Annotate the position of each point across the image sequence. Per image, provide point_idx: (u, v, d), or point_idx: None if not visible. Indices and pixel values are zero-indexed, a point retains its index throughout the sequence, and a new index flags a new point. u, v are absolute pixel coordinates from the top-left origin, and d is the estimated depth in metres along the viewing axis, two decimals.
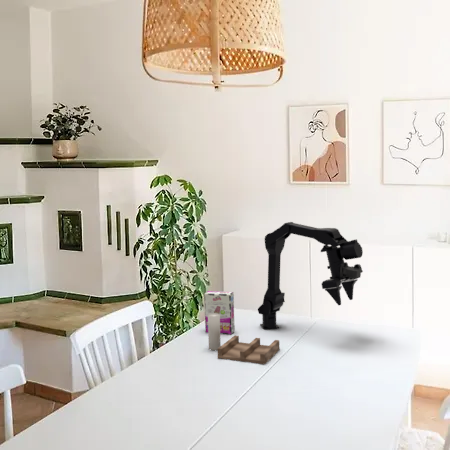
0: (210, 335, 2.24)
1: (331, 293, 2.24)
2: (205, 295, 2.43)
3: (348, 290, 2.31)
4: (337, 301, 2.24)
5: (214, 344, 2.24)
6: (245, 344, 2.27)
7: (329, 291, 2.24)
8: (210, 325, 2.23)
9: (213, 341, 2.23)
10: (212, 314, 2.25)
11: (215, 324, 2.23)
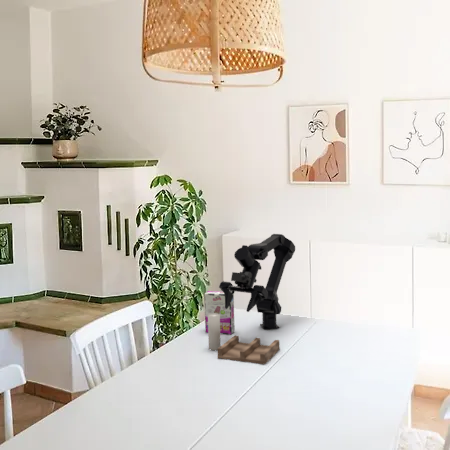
0: (210, 335, 2.24)
1: None
2: (205, 295, 2.43)
3: None
4: None
5: (214, 344, 2.24)
6: (245, 344, 2.27)
7: None
8: (210, 325, 2.23)
9: (213, 341, 2.23)
10: (212, 314, 2.25)
11: (215, 324, 2.23)
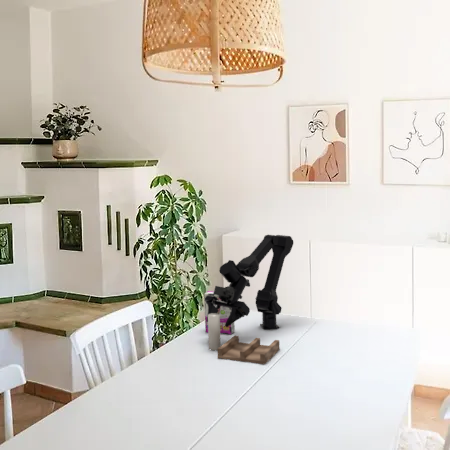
0: (210, 335, 2.24)
1: None
2: (205, 295, 2.43)
3: None
4: None
5: (214, 344, 2.24)
6: (245, 344, 2.27)
7: None
8: (210, 325, 2.23)
9: (213, 341, 2.23)
10: (212, 314, 2.25)
11: (215, 324, 2.23)
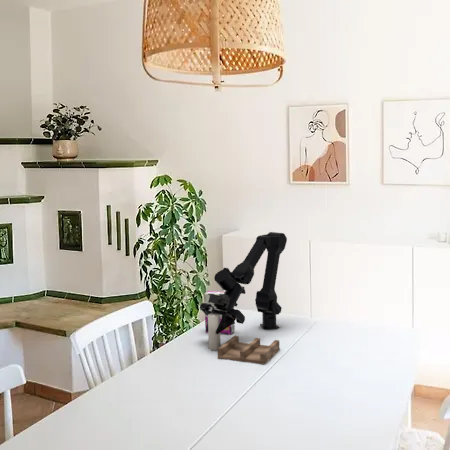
0: (210, 335, 2.24)
1: None
2: (205, 295, 2.43)
3: None
4: None
5: (214, 344, 2.24)
6: (245, 344, 2.27)
7: None
8: (210, 325, 2.23)
9: (213, 341, 2.23)
10: (212, 314, 2.25)
11: (215, 324, 2.23)
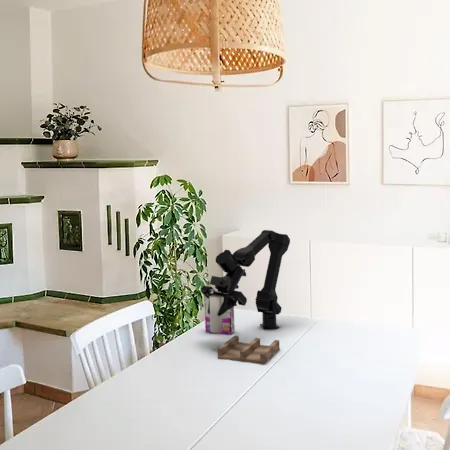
0: (212, 317, 2.22)
1: None
2: None
3: None
4: None
5: (216, 327, 2.22)
6: (245, 344, 2.27)
7: None
8: (212, 307, 2.22)
9: (215, 323, 2.22)
10: (214, 296, 2.23)
11: (217, 306, 2.21)
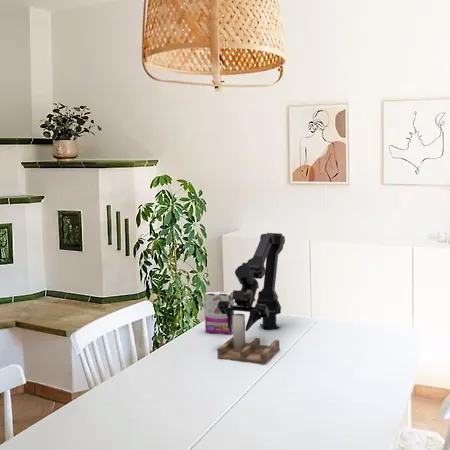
0: (236, 336, 2.18)
1: None
2: (205, 295, 2.43)
3: None
4: None
5: (241, 345, 2.19)
6: (245, 344, 2.27)
7: None
8: (237, 326, 2.18)
9: (240, 342, 2.18)
10: (237, 315, 2.19)
11: (242, 325, 2.18)
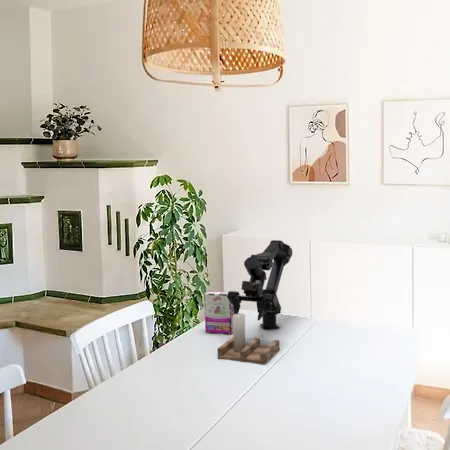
0: (236, 336, 2.18)
1: None
2: (205, 295, 2.43)
3: None
4: None
5: (241, 345, 2.19)
6: (245, 344, 2.27)
7: None
8: (237, 326, 2.18)
9: (240, 342, 2.18)
10: (237, 315, 2.19)
11: (242, 325, 2.18)
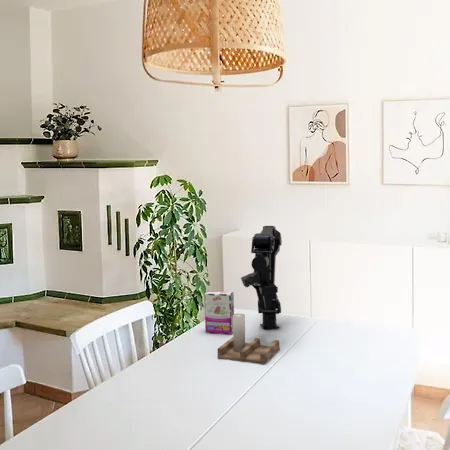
0: (236, 336, 2.18)
1: None
2: (205, 295, 2.43)
3: None
4: None
5: (241, 345, 2.19)
6: (245, 344, 2.27)
7: None
8: (237, 326, 2.18)
9: (240, 342, 2.18)
10: (237, 315, 2.19)
11: (242, 324, 2.18)
